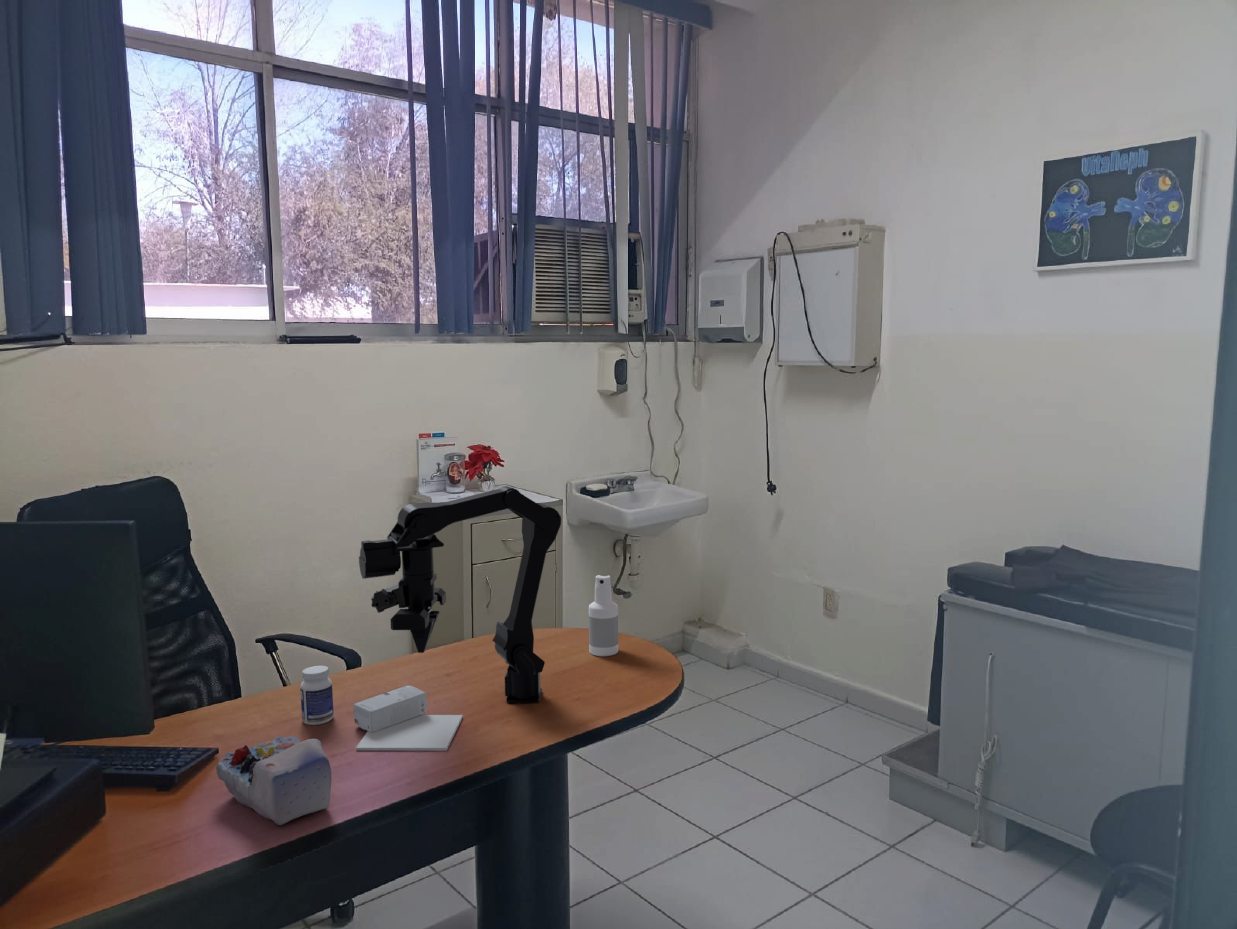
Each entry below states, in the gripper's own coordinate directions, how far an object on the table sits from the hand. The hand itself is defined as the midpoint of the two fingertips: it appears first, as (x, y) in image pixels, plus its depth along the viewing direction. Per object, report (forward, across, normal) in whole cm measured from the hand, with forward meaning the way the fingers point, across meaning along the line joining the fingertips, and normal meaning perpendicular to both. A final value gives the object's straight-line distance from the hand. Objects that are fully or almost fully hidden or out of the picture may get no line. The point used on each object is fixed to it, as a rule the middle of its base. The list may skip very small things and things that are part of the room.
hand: (421, 652), depth 164 cm
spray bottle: (+13, -37, +33) cm, 51 cm away
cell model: (+13, +31, -15) cm, 37 cm away
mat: (+13, +7, -1) cm, 15 cm away
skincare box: (+10, -3, -2) cm, 11 cm away
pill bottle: (+13, +1, -20) cm, 24 cm away
